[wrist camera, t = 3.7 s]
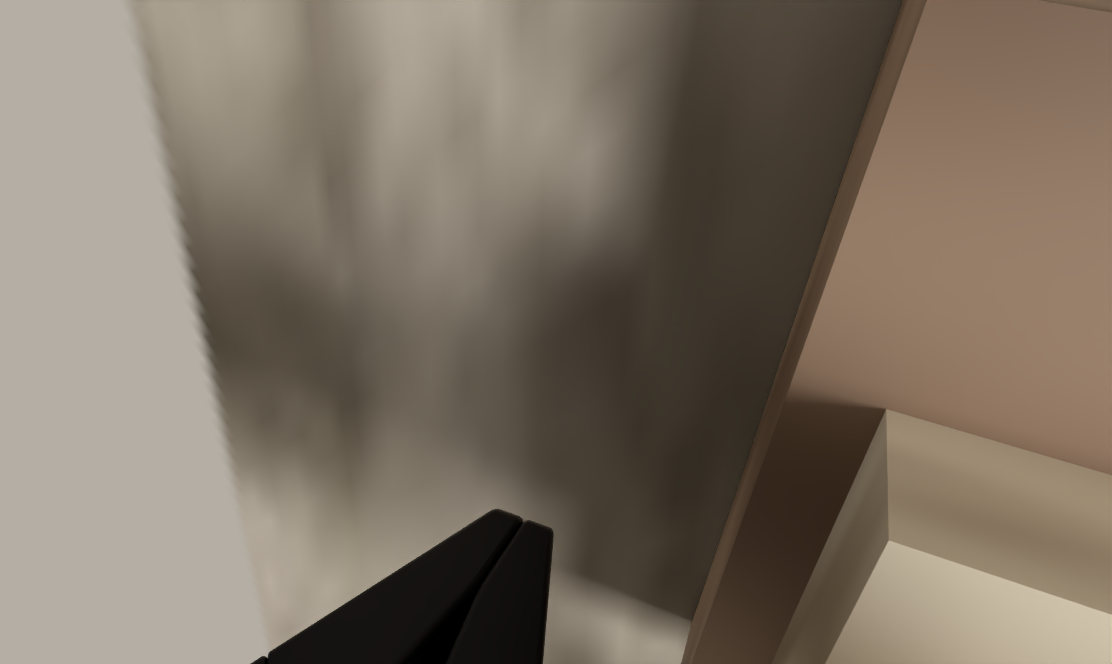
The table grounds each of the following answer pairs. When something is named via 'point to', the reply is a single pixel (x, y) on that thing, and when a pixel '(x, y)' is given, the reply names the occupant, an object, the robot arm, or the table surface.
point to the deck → (937, 288)
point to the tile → (960, 558)
